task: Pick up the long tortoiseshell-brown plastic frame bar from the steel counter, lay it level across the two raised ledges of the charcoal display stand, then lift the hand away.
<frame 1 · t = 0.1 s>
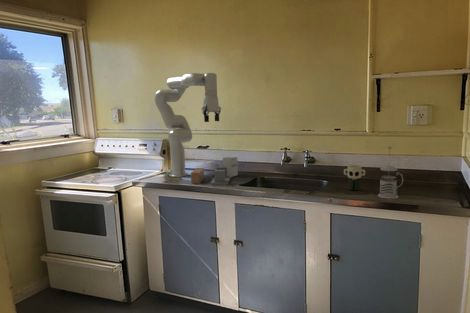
hand: (211, 121, 235), 37 cm above the worktop, tool pointing down, fingers open, 9 cm apart
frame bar: (198, 181, 240), on the worktop
supplement box: (230, 176, 254), on the worktop
big eared toy figure: (354, 190, 204), on the worktop
french press: (389, 196, 188), on the worktop
display stand: (221, 181, 236), on the worktop
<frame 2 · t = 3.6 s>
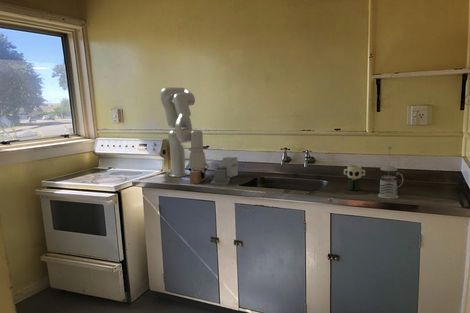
hand: (198, 178, 240), 2 cm above the worktop, tool pointing down, fingers closed on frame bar, 5 cm apart
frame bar: (198, 180, 240), on the worktop, touching gripper
everything else where it was.
when the fingers open (10 cm above the worktop, at t = 10.0 s): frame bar stays where it is, resting on display stand.
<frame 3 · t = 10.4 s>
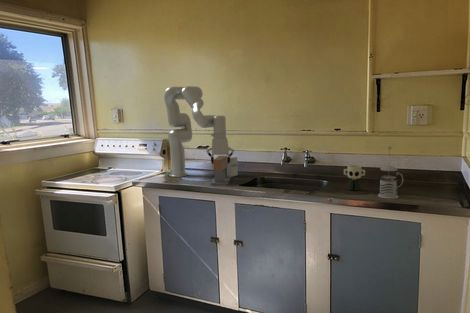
hand: (220, 163, 234), 11 cm above the worktop, tool pointing down, fingers open, 9 cm apart
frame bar: (220, 168, 235), point 8 cm above the worktop, touching display stand
everything else where it was.
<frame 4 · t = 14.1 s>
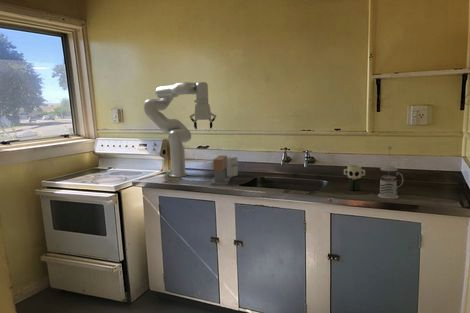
hand: (203, 128, 244), 32 cm above the worktop, tool pointing down, fingers open, 9 cm apart
nothing on the worktop moved.
at the end: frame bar 0.1 cm off-centre on the display stand, point 8.0 cm above the display stand's base; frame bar tilted 0°; the gripper is holding nothing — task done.
